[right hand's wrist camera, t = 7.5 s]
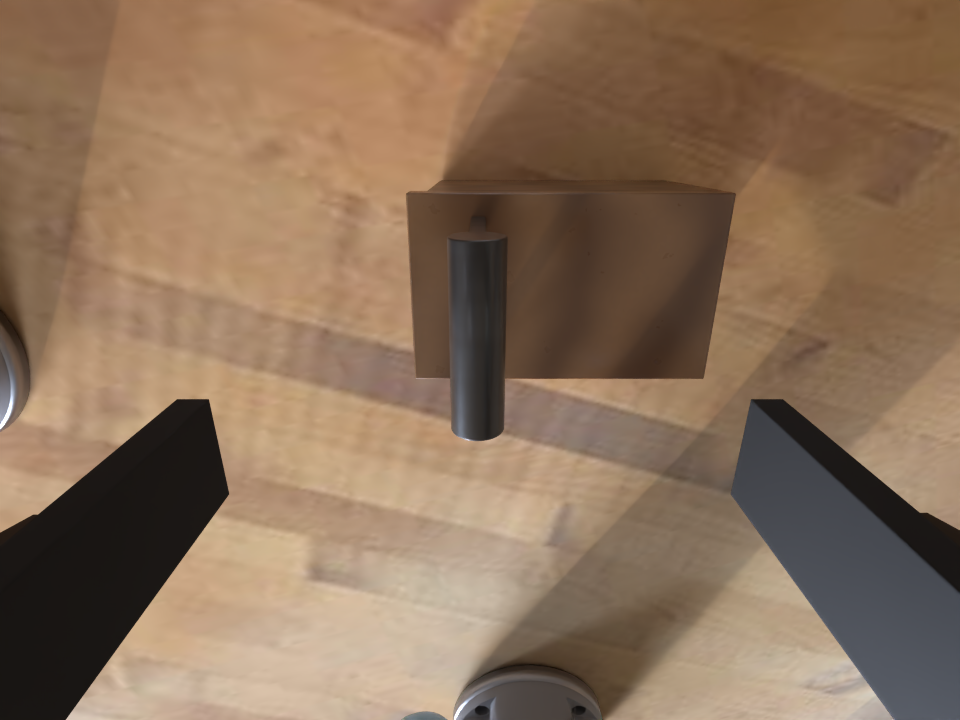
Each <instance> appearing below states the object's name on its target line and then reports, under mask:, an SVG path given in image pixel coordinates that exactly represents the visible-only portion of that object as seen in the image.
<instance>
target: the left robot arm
mask: <svg viewBox="0 0 960 720" xmlns="http://www.w3.org/2000/svg"><path fill="white" fill-rule="evenodd" d="M402 720H447V719H446V718H444V717H443V716H441V715H440V714H437V713H434V712H418V713H414V714H411V715H408V716H406V717H404V718H403V719H402ZM453 720H602V716H601V712H600V707H599V703H598V700H597V698H596V696H595V694H594V693H593V692H592V690H591V689H590V688H589V687H588V686H587V685H586V684H585V683H584V682H583V681H581V680H580V679H578V678H577V677H575V676H573V675H571V674H569V673H567V672H564V671H561V670H558V669H555V668H550V667H545V666H535V665H524V666H513V667H508V668H503V669H499V670H496V671H493V672H491V673H488V674H486V675H484V676H482V677H480V678H479V679H477V680H476V681H474V682H473V683H471V684H470V685H469V686H468V687H467V688H466V689H465V690H464V691H463V692H462V693H461V695H460V696H459V698H458V700H457V702H456V704H455V707H454V713H453Z"/></svg>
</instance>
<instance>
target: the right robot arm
mask: <svg viewBox="0 0 960 720" xmlns="http://www.w3.org/2000/svg"><path fill="white" fill-rule="evenodd" d="M29 390H30V371H29V365H28V361H27V357H26V354H25V351H24V348H23V346H22V343H21V341H20V339H19V337H18V335H17V333H16V332H15V330H14V328H13V327H12V325H11V324H10V322H9V321H8V320H7V318H6V317H5V315H4V314H3V313H2V312H1V311H0V432H1V431H2V430H4V429H5V428H7V427H8V426H10V425H11V424H12V423H13V422H14V421H15V420H16V419H17V418H18V417H19V415H20V414H21V412H22V411H23V409H24V407H25V404H26V402H27V399H28V395H29ZM228 495H229V491H228V486H227V482H226V477H225V472H224V468H223V463H222V458H221V454H220V449H219V444H218V440H217V435H216V431H215V426H214V421H213V417H212V412H211V407H210V403H209V399H177V400H176V401H175V402H173V403H172V404H171V405H170V406H169V407H167V408H166V409H165V410H164V411H163V412H161V413H160V414H159V415H158V416H156V417H155V418H154V419H153V420H152V421H150V422H149V423H148V424H147V425H146V426H144V427H143V428H142V429H141V430H140V431H138V432H137V433H136V434H135V435H134V436H132V437H131V438H130V439H129V440H128V441H126V442H125V443H124V444H123V445H122V446H120V447H119V448H118V449H117V450H115V451H114V452H113V453H112V454H111V455H109V456H108V457H107V458H106V459H105V460H103V461H102V462H101V463H100V464H99V465H97V466H96V467H95V468H94V469H93V470H91V471H90V472H89V473H88V474H87V475H85V476H84V477H83V478H82V479H81V480H79V481H78V482H77V483H76V484H75V485H73V486H72V487H71V488H70V489H68V490H67V491H66V492H65V493H64V494H62V495H61V496H60V497H59V498H58V499H56V500H55V501H54V502H53V503H52V504H50V505H49V506H48V507H47V508H46V509H44V510H43V511H42V512H41V513H40V514H38V515H32V516H30V517H28V518H26V519H25V520H23V521H21V522H19V523H17V524H15V525H14V526H12V527H10V528H8V529H6V530H4V531H3V532H1V533H0V720H66V719H67V717H68V716H69V714H70V713H71V712H72V710H73V709H74V707H75V706H76V705H77V703H78V702H79V701H80V699H81V698H82V696H83V695H84V694H85V692H86V691H87V690H88V688H89V687H90V685H91V684H92V683H93V681H94V680H95V679H96V677H97V676H98V674H99V673H100V672H101V670H102V669H103V667H104V666H105V665H106V663H107V662H108V661H109V659H110V658H111V656H112V655H113V654H114V652H115V651H116V650H117V648H118V647H119V645H120V644H121V643H122V641H123V640H124V639H125V637H126V636H127V634H128V633H129V632H130V630H131V629H132V627H133V626H134V625H135V623H136V622H137V621H138V619H139V618H140V616H141V615H142V614H143V612H144V611H145V610H146V608H147V607H148V605H149V604H150V603H151V601H152V600H153V599H154V597H155V596H156V594H157V593H158V592H159V590H160V589H161V587H162V586H163V585H164V583H165V582H166V581H167V579H168V578H169V576H170V575H171V574H172V572H173V571H174V570H175V568H176V567H177V565H178V564H179V563H180V561H181V560H182V559H183V557H184V556H185V554H186V553H187V552H188V550H189V549H190V547H191V546H192V545H193V543H194V542H195V541H196V539H197V538H198V536H199V535H200V534H201V532H202V531H203V530H204V528H205V527H206V525H207V524H208V523H209V521H210V520H211V519H212V517H213V516H214V514H215V513H216V512H217V510H218V509H219V507H220V506H221V505H222V503H223V502H224V501H225V499H226V498H227V496H228ZM731 495H732V496H733V498H734V499H735V501H736V502H737V503H738V505H739V506H740V507H741V509H742V510H743V512H744V513H745V514H746V516H747V517H748V519H749V520H750V521H751V523H752V524H753V525H754V527H755V528H756V530H757V531H758V532H759V534H760V535H761V536H762V538H763V539H764V541H765V542H766V543H767V545H768V546H769V547H770V549H771V550H772V552H773V553H774V554H775V556H776V557H777V559H778V560H779V561H780V563H781V564H782V565H783V567H784V568H785V570H786V571H787V572H788V574H789V575H790V576H791V578H792V579H793V581H794V582H795V583H796V585H797V586H798V587H799V589H800V590H801V592H802V593H803V594H804V596H805V597H806V599H807V600H808V601H809V603H810V604H811V605H812V607H813V608H814V610H815V611H816V612H817V614H818V615H819V616H820V618H821V619H822V621H823V622H824V623H825V625H826V626H827V627H828V629H829V630H830V632H831V633H832V634H833V636H834V637H835V639H836V640H837V641H838V643H839V644H840V645H841V647H842V648H843V650H844V651H845V652H846V654H847V655H848V656H849V658H850V659H851V661H852V662H853V663H854V665H855V666H856V667H857V669H858V670H859V672H860V673H861V674H862V676H863V677H864V679H865V680H866V681H867V683H868V684H869V685H870V687H871V688H872V690H873V691H874V692H875V694H876V695H877V696H878V698H879V699H880V701H881V702H882V703H883V705H884V706H885V707H886V709H887V710H888V712H889V713H890V714H891V716H892V717H893V719H894V720H960V530H958V529H956V528H954V527H952V526H951V525H949V524H947V523H945V522H943V521H941V520H939V519H938V518H936V517H934V516H932V515H930V514H928V513H919V512H918V511H917V510H916V509H914V508H913V507H912V506H911V505H910V504H908V503H907V502H906V501H905V500H904V499H902V498H901V497H900V496H899V495H898V494H896V493H895V492H894V491H893V490H892V489H890V488H889V487H888V486H887V485H885V484H884V483H883V482H882V481H881V480H879V479H878V478H877V477H876V476H875V475H873V474H872V473H871V472H870V471H869V470H867V469H866V468H865V467H864V466H863V465H861V464H860V463H859V462H858V461H857V460H855V459H854V458H853V457H852V456H851V455H849V454H848V453H847V452H846V451H845V450H843V449H842V448H841V447H840V446H838V445H837V444H836V443H835V442H834V441H832V440H831V439H830V438H829V437H828V436H826V435H825V434H824V433H823V432H822V431H820V430H819V429H818V428H817V427H816V426H814V425H813V424H812V423H811V422H810V421H808V420H807V419H806V418H805V417H804V416H802V415H801V414H800V413H799V412H797V411H796V410H795V409H794V408H793V407H791V406H790V405H789V404H788V403H787V402H785V401H784V400H783V399H751V403H750V407H749V412H748V417H747V421H746V426H745V431H744V435H743V440H742V444H741V449H740V454H739V458H738V463H737V468H736V472H735V477H734V482H733V486H732V491H731Z"/></svg>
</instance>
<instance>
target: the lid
mask: <svg viewBox="0 0 960 720" xmlns="http://www.w3.org/2000/svg"><path fill="white" fill-rule="evenodd" d="M735 196H736V194H735V193H732V192H726V191H410V192H408V193H406V205H407V225H408V245H409V264H410V284H411V304H412V324H413V343H414V363H415V378H416V379H450V390H451V429H452V431H453V433H454V434H455V435H456V436H458V437H460V438H462V439H466V440H471V441H484V440H489V439H493V438H495V437H497V436H499V435H500V434H501V433H502V432H503V430H504V406H505V379H703V378H704V373H705V367H706V362H707V356H708V350H709V344H710V339H711V333H712V327H713V322H714V316H715V310H716V304H717V299H718V293H719V287H720V281H721V276H722V270H723V264H724V259H725V253H726V247H727V241H728V236H729V230H730V224H731V218H732V213H733V207H734V201H735Z"/></svg>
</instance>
